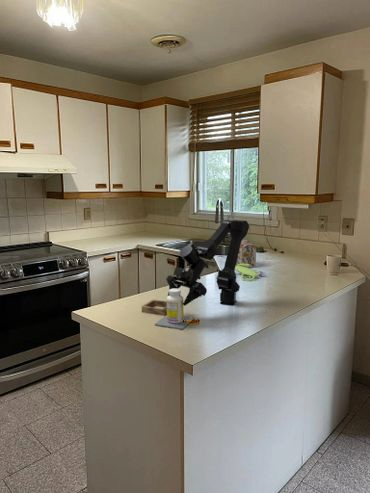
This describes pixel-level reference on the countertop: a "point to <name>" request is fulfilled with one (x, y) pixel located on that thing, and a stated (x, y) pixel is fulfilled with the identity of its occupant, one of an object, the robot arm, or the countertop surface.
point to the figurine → (247, 272)
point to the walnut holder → (150, 309)
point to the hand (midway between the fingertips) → (175, 302)
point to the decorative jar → (247, 254)
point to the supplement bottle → (175, 306)
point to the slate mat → (165, 323)
